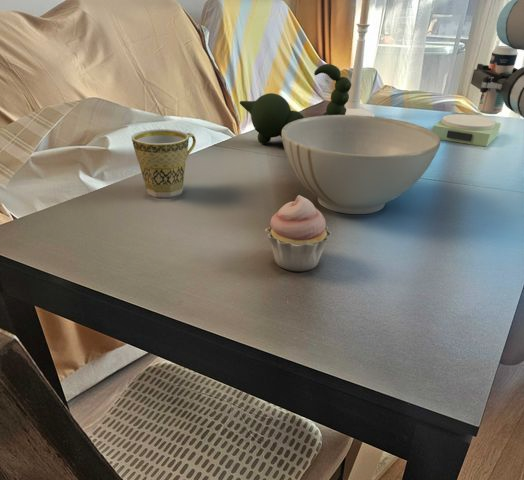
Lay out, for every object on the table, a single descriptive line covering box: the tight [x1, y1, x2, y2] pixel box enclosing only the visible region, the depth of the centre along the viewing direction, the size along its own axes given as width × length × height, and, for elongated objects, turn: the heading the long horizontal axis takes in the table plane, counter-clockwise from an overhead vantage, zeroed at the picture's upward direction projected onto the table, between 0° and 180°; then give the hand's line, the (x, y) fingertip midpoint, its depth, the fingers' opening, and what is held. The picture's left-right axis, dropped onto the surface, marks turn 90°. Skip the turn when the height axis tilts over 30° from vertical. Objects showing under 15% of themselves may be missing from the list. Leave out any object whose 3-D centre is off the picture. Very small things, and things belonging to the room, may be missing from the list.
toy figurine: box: [239, 63, 352, 145], centre depth 117 cm, size 9×19×25 cm
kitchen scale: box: [431, 113, 502, 148], centre depth 132 cm, size 14×14×4 cm
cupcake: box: [264, 194, 332, 272], centre depth 71 cm, size 9×9×10 cm
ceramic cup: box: [131, 128, 197, 199], centre depth 93 cm, size 13×10×10 cm
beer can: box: [477, 45, 519, 115], centre depth 104 cm, size 5×5×12 cm
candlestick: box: [344, 0, 375, 117], centre depth 139 cm, size 13×13×30 cm
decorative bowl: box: [281, 115, 441, 215], centre depth 90 cm, size 27×27×12 cm
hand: (490, 71), depth 108 cm, fingers closed on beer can, 5 cm apart
